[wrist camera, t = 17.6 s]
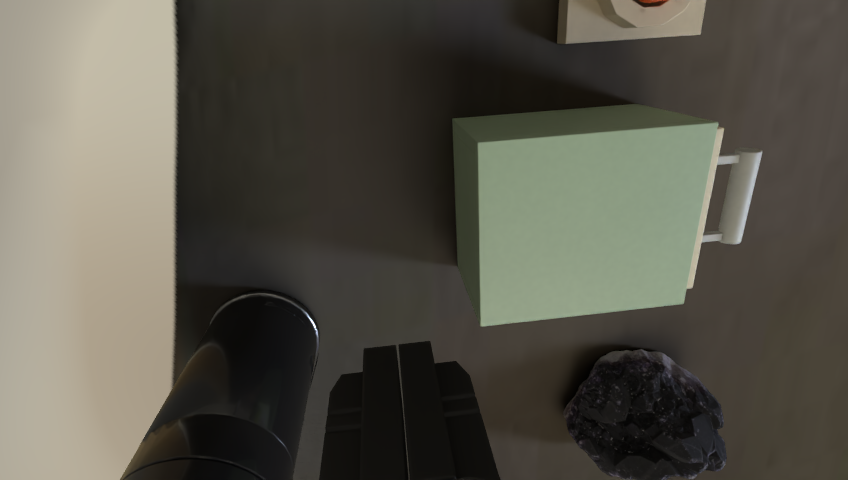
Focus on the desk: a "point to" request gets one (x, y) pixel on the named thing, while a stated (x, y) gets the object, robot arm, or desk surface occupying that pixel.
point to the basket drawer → (728, 197)
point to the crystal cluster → (646, 418)
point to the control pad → (627, 19)
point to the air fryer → (578, 209)
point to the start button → (649, 0)
